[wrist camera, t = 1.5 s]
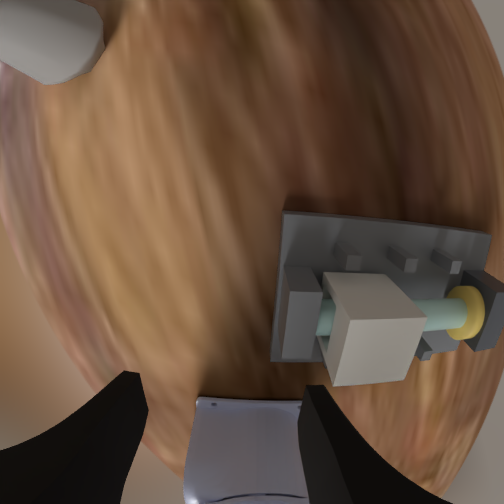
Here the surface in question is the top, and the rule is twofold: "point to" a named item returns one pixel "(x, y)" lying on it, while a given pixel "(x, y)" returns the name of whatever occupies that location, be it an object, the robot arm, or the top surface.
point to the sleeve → (369, 329)
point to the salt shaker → (50, 38)
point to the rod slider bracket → (379, 262)
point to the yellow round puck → (474, 312)
